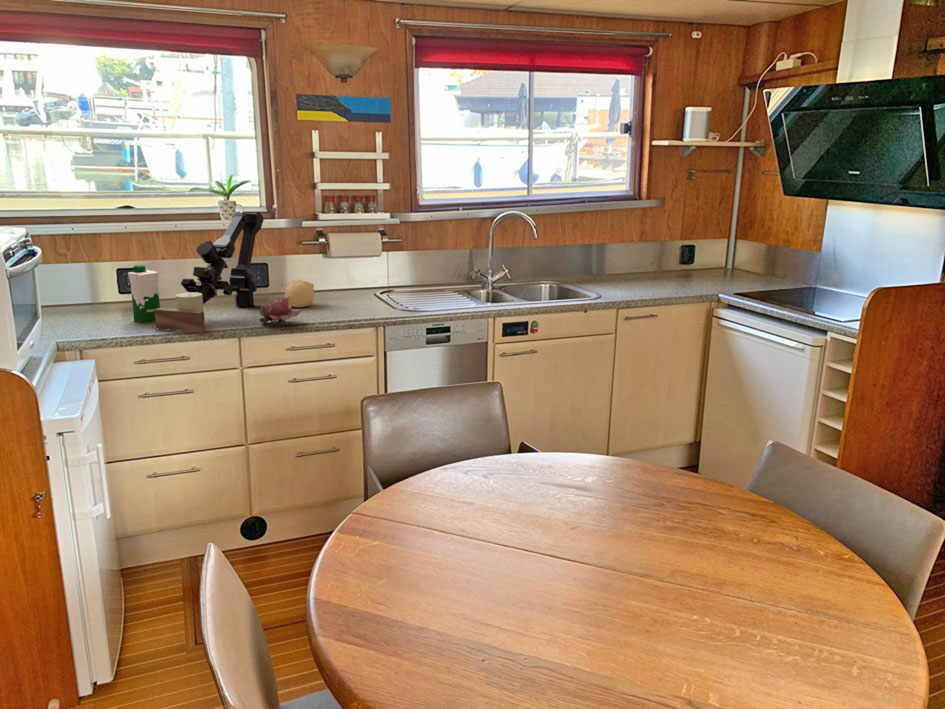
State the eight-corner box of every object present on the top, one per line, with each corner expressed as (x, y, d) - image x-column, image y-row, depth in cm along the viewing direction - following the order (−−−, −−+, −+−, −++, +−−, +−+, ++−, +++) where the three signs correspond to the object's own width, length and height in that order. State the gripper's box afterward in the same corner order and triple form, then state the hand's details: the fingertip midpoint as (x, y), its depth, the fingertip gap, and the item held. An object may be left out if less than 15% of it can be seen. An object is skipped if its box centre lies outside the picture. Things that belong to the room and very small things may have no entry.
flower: (306, 312, 288) (296, 288, 284) (298, 326, 274) (287, 301, 271) (269, 322, 290) (259, 298, 286) (259, 336, 276) (248, 311, 272)
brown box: (160, 327, 274) (159, 308, 272) (205, 330, 270) (204, 311, 268) (156, 328, 271) (154, 309, 270) (201, 332, 267) (199, 312, 265)
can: (180, 330, 270) (177, 296, 267) (175, 324, 278) (172, 292, 275) (207, 327, 275) (205, 294, 272) (201, 322, 283) (199, 290, 280)
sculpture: (316, 303, 319) (315, 277, 316) (311, 309, 308) (310, 282, 305) (288, 303, 319) (287, 277, 316) (282, 309, 307) (281, 282, 304)
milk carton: (150, 316, 290) (145, 264, 285) (166, 319, 286) (161, 266, 280) (130, 320, 283) (124, 267, 278) (145, 324, 278) (140, 269, 273)
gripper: (181, 256, 283) (165, 291, 276) (226, 259, 279) (211, 294, 271) (195, 274, 292) (180, 308, 285) (239, 277, 288) (225, 311, 281)
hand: (199, 305), depth 280 cm, fingers closed
